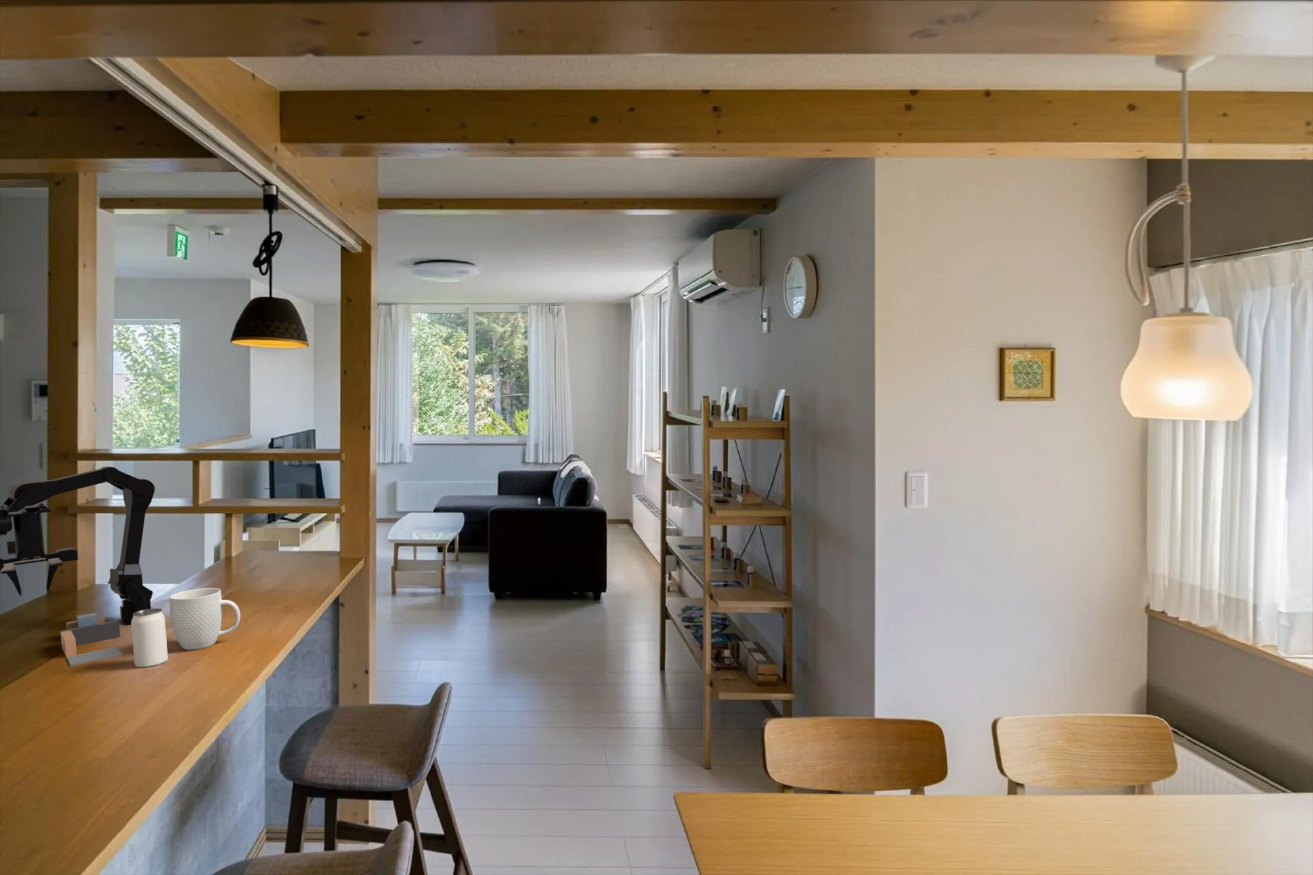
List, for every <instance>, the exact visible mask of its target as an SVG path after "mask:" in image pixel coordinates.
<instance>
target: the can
mask: <svg viewBox="0 0 1313 875" xmlns="http://www.w3.org/2000/svg"><path fill="white" fill-rule="evenodd" d="M162 611H163V609H162V608H151V609H147V610H142V611H138V612H135V613H133V618H132V621H131V625H130V626H131V636H132V647H133V650H132V651H133V659H134V660H133V661H134V666H136V667H137V668H140V669H142V668H144V669H145V668H151V667H156V666H160V665H163V664H164V663H166V662H167V660H168V658H169V655H168V645H167V631H166V630H167V629H166V617H165V614H164V613H163V612H162Z"/></svg>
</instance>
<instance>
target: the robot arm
mask: <svg viewBox="0 0 1313 875" xmlns="http://www.w3.org/2000/svg"><path fill="white" fill-rule="evenodd" d="M104 483H107V484H109V485H111V486H113V487H115V488H116V489H119V490H121V491H122V494H123V495H122V496H123V497H122V498H123V502H124V507H125V510H126V512H125V521H124V528H123V533H122V534H123V536H122V543H121V549H120V550H121V552H120V558H119V559H120V560H119V563H118V564H117V567H116V568H110V569H109V580H108V581H107V584H109V585H110V587H109V588H110V589H111V591H112V592H113V593H114V594H117V595H118V596H119V598H120V599H121V606H119V613H120V614H119V616H120V617H119V618H120V622H121V623H123V624H124V626H132V625H131V621H132V618H133V613H135V612H138V611H142V610H147V609H152V607H151V606H152V604H151V600H152V597H153V595H154V591H153V590H151V589H150V588H148V587H146V586H145V585H144V583H143V582H144V581H143V573H142V569H141V566H140V558H141V550H142V544H143V543H142V542H143V536H144V528H145V527H144V526H145V521H146V520H145V518H146V513H147V510H148V508H149V507H150V505H151V503H152V501H153V498H154V494H155V492H156V487H155V484H154V482H152V481H150V480H149V479H145V478H137V477H135V476H133V475H130V474H127V473H125V472H124V471H121V470H119V469H118V468H116V467H113V466H102V467H101V468H97V469H93V470H89V471H84V472H80V473H76V474H75V473H74V474H71V475H67V476H64V477H58V478H55V479H48V480H47V479H46V480H36V481H35V480H33V481H32V480H31V481H22V482H21V481H20V482H17V483H14V484H13V485H12V486H11V487H10V489H9V490H8V495H7V496H8V497H7V498H6V499H5V500H4V502H3V503H2V504H1V505H0V537H2V536H7V535H8V533H9V532H11V531H12V530H13V535H14V540H11V541H6V548H7V549H6V550H7V555H8V556H12V555H13V556H15V557H11V558H5V559H4V557H3V556H0V574H1V575H3V574H5V575H7V577H8V578H9V580H10V581H11V582H12V583H13V586H14V587H15V589H16V591H17V593H18V596H22V588H21V587H22V586H21V584H20V581H19V576H18V574H17V569H16V567H15V566H18V565H26V564H33V563H40V562H42V563H43V562H46V577H45V589H46V592H49V591H50V588H51V585H52V582H53V578H54V576H55V574H56V572H57V570H58V567H61V566H63V565H64V563H65V562H72V561H77V560H79V554H78V550H77V549H76V548H75V547H72V546H71V547H63V548H57V549H56V552H50V553H46V549H45V539H44V536H45V535H44V526H43V516H42V515H43V514H46V513H50V512H52V508H49V507H48V506H46V505H45V503H43V502H45V501H47V500H49V499H51V498H53V497H55V496H58V495H60V494H64V493H67V492H72V491H75V490H79V489H83V488H88V487H92V486H96V485H101V484H104ZM35 505H36V506H35Z"/></svg>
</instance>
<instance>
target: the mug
mask: <svg viewBox="0 0 1313 875" xmlns="http://www.w3.org/2000/svg"><path fill="white" fill-rule="evenodd" d="M168 600H169V615H170V622H171V628H172V632H173V633H174V636H175V639H176V640H177V643H178V644H179V645H180V647H182V649H184V650H186V651H194V650H200V649H201V650H202V649H206V648H208V647H211V646H213V645H215V643H216V642H217V640H218V638H219V636H223V635H226V634H229V633H231V632H233V631H234V630H235V629H237V628H238V625H239V624H240V621H241V612H240V611H241V610H240V608H239V606H238V605H237V604H236V602H234V601H232V600H228V599H222V590H221V589H220V588H218V587H217V588H216V587H206V588H205V587H204V588H196V589H188V590H183V591H180V592H176V593H173V594H171V595H170V596H169V598H168ZM224 605H227V606H228V605H229V606H230V607H231V608H232V609H233V611H234V613H235V619H234V620H235V621H234V623H233V625H232V626H231V627H229V628H228V629H227V628H226V629H224V630H221V628H222V624H223V606H224Z"/></svg>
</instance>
